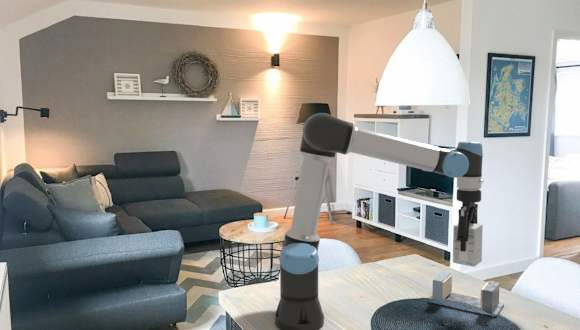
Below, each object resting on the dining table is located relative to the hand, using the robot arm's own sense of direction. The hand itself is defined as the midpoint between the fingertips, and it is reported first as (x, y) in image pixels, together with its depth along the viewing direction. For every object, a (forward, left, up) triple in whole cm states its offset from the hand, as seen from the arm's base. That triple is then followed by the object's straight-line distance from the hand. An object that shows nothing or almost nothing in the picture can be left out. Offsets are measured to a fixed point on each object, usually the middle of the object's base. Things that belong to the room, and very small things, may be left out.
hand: (467, 257), depth 159 cm
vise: (0, 0, -16) cm, 16 cm away
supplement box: (0, 0, -2) cm, 2 cm away
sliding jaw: (0, +8, -15) cm, 17 cm away
